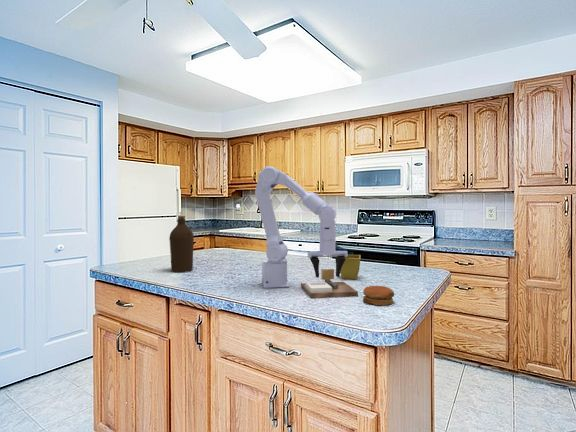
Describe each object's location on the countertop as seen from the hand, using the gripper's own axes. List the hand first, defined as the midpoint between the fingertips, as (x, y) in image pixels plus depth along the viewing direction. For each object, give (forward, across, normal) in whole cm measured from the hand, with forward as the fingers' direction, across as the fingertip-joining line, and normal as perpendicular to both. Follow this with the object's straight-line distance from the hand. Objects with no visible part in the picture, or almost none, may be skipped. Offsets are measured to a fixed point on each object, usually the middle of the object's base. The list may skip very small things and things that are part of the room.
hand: (327, 276), depth 130 cm
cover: (+2, +6, +7) cm, 10 cm away
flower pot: (+4, -13, -15) cm, 20 cm away
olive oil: (+4, +57, -43) cm, 71 cm away
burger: (+4, -10, +21) cm, 23 cm away
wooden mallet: (+2, 0, +4) cm, 5 cm away
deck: (+4, +2, +6) cm, 7 cm away
